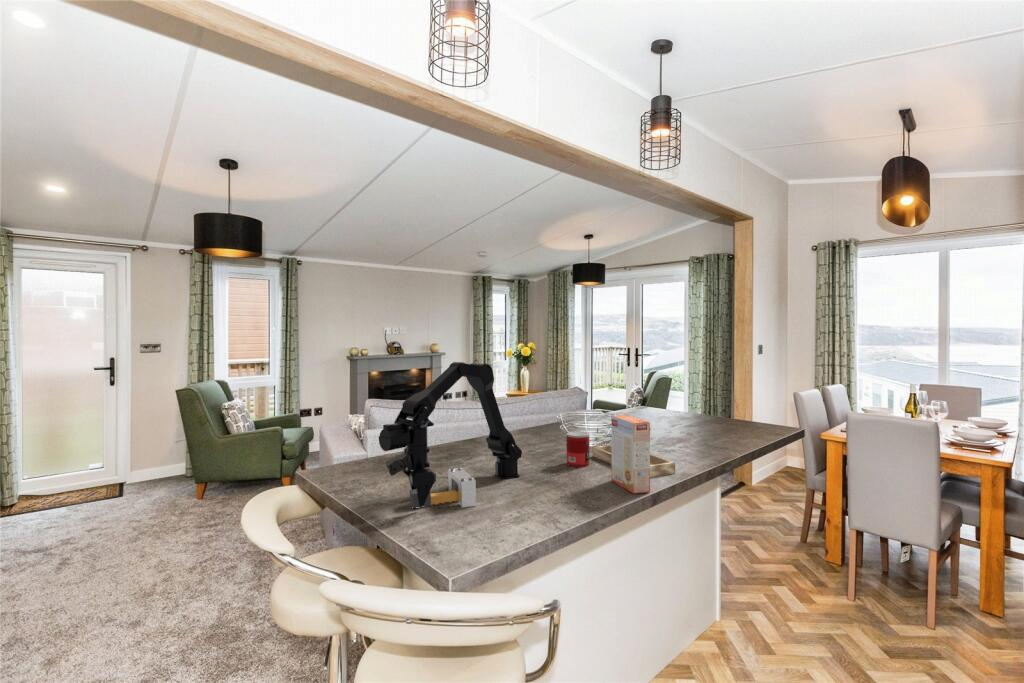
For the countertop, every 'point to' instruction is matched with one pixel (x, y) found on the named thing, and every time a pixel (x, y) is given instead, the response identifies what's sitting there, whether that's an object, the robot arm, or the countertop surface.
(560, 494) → the countertop surface
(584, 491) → the countertop surface
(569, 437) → the canned food
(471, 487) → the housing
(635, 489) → the cracker box
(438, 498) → the plug
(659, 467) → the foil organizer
